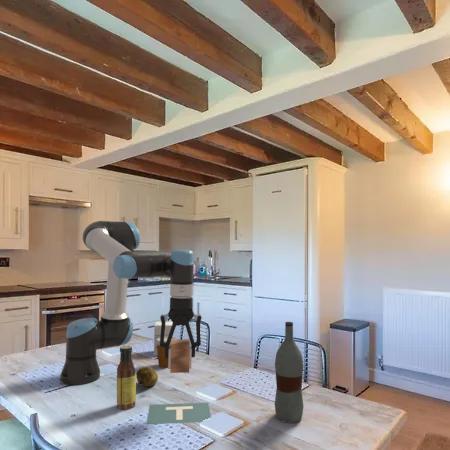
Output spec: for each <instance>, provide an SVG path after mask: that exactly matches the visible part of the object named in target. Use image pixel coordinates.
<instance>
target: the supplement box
mask: <svg viewBox="0 0 450 450" xmlns="http://www.w3.org/2000/svg"><path fill="white" fill-rule="evenodd" d="M165 322H166V323H165V334H164V337H168V335H169V332H170V329H171V327H172V323H173V322H172V321H165ZM161 325H162V323H161V321H155V323H154V326H153V327H154V333H153V336H154V337H153V338H154V339H153V356H155V357H156V355H158V353H157V345H156V340H157V338H160V336H161Z"/></svg>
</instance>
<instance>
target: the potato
mask: <svg viewBox="0 0 450 450" xmlns="http://www.w3.org/2000/svg"><path fill="white" fill-rule="evenodd" d="M158 380H159V376H158V373H157V371H156V370H154V369H152V368H151V367H150V366H142V367H140V368H139V369H138V370H137V371H136V381H137V383H138V385H142V386H145V387H146V386H147V387H152V386H155V385H156V384H157V382H158Z"/></svg>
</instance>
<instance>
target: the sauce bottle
mask: <svg viewBox="0 0 450 450" xmlns="http://www.w3.org/2000/svg"><path fill="white" fill-rule="evenodd" d="M132 351H133V346H131V345H121V346H119V353H120V358H119V364H118V366H117V367H116V368H117V369H116V403H117V407H116V408H118V409H119V410H120V409H121V410H131V409H133V408H134V407H135V406H136V401H137V389H136V388H137V384H136V381H137V374H136V373H137V371H136V368H135V365H134V362H133V357H132V356H133V355H132V354H133V353H132Z"/></svg>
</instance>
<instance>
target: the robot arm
mask: <svg viewBox="0 0 450 450" xmlns="http://www.w3.org/2000/svg"><path fill="white" fill-rule="evenodd" d="M82 242H83V244H84V246H85V247H86V248H88V249H89V250H90V251H92V252H96V253H98V255H100V256H101V257H102V258H104V259H105V260H106V261H107V262H108V263H107V264H108V266H107V281H106V291H105V294H106V295H105V305H104V312H102V313H101V314H100V320H98V319H97V318H96V317H84V318H80V319H76V320H74V321H71V322H70V323H69V324H67V327H66V333H65V338H66V341H65V342H66V344H65V345H66V346H65V361H64V364H63V367H62V369H61V372H60V378H59V379H60V380H59V381H60V383H61V384H64V385H72V386H73V385H75V386H76V385H86V384H90V383H92V382H95V381H97V380H99V379H100V377H101V370H100V365H99V363H98V360H97V350H101V349H102V350H103V349H107V348H108V349H109V348H113V347H115V348H116V347H121V346H125V345H126V344H128V343H129V342H130V341H131V339H132V337H133V333H134V325H133V320H132V318H130V317H129V316H130V315H129V314H128V313H127V311H126V310H127V309H126V308H127V307H126V306H127V298H128V297H127V295H128V284H129V283H128V282H129V279H138V278H139V279H140V278H141V279H142V278H158V277H161V278H162V277H166V278H167V277H168V278H170V281H169V282H170V287H169V291H170V293H169V295H170V298H169V311H168V313H166V314H161V315H160V319H159V320H160V322H161V323H162V325H161V336H160V346H161V347H164V348H165V358H168V368H167V369H168V370H170V366H171V346H169V345H170V342H171V339H172V337H173V336H174V333H175V330H176V328H177V326H183V327H184V326H185V329H186V332H187V335H188V339H189V341H190V358H189V370H190V369H192V361H193V360H192V358H195V357H196V347H199V346H201V344H202V343H201V341H202V340H201V320H202V315H201V314H200V313H199V314H196V313H194V310H193V307H194V305H193V302H194V298H193V297H192V296H193V295H194V265H195V261H194V251H192V250H191V249H190V250H189V249H185V250H184V249H174V250H172V251H171V254H166V253H164V254H160V253H159V254H136V253H134V252H135V250H137V249H138V248H139V247H140V243H141V234H140V230H139V228H138V227H137V225H136V224H135V223H133V222H128V221H109V220H108V221H107V220H99V221H98V220H97V221H94V222H92V223H90V224H88V226H86V227H85V229H84V230H83V232H82ZM193 318H194V319H193ZM168 319H170V322H172V327H171V329H170V332H169V335H168V338H167V341H166V342H164V334H165V323H166V322H168ZM192 319H193V320H194V321H195V332H196V341H195V339H194V335H193V332H192V329H191V326H190V322H191V321H192Z"/></svg>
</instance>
